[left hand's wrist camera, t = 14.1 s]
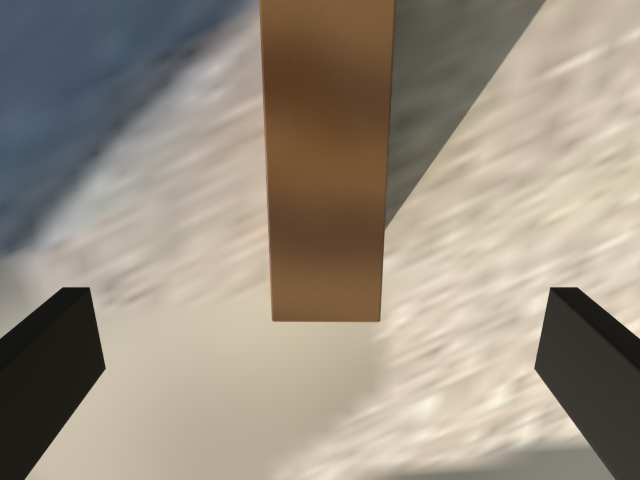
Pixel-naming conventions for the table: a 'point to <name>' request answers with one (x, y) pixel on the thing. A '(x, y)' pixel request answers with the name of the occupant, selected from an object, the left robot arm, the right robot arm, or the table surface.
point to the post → (326, 154)
